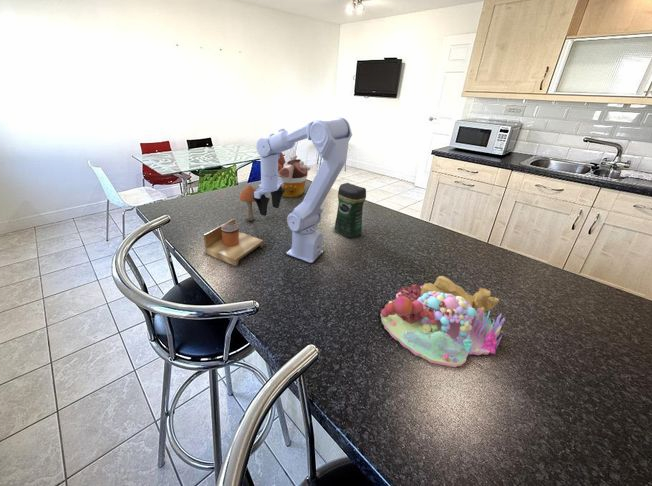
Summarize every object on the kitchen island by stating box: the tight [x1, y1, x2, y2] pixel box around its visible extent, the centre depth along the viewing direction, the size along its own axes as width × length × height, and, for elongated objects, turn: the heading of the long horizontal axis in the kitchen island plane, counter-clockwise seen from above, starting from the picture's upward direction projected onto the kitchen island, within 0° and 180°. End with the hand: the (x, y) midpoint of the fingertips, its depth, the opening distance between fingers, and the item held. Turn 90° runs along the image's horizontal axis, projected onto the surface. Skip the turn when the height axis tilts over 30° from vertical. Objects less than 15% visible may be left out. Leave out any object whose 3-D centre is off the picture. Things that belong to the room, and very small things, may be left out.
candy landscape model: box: [380, 275, 506, 368], centre depth 68 cm, size 25×24×9 cm
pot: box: [221, 223, 240, 246], centre depth 96 cm, size 6×6×6 cm
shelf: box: [203, 218, 264, 267], centre depth 96 cm, size 13×14×7 cm
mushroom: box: [238, 184, 257, 222], centre depth 114 cm, size 8×8×15 cm
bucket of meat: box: [278, 152, 312, 198], centre depth 142 cm, size 20×16×20 cm
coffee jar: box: [334, 182, 367, 238], centre depth 106 cm, size 10×8×19 cm
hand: (269, 211), depth 103 cm, fingers open, 7 cm apart
